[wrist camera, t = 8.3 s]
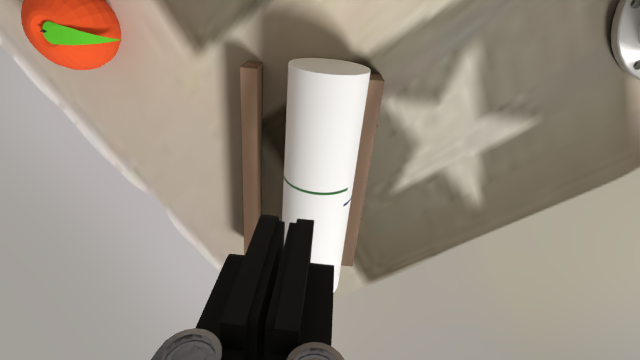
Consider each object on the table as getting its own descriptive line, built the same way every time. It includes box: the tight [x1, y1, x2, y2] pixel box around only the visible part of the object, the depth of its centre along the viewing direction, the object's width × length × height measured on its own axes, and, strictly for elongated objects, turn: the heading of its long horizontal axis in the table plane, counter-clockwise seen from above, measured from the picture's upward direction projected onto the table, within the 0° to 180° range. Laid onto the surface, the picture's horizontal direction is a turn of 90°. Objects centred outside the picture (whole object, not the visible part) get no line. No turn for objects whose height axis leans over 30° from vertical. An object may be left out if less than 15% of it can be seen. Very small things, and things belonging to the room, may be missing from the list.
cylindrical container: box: [282, 58, 371, 293], centre depth 36 cm, size 7×7×25 cm
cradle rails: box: [240, 61, 384, 266], centre depth 38 cm, size 13×22×3 cm, turn 175°
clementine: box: [21, 0, 121, 70], centre depth 29 cm, size 8×7×7 cm
